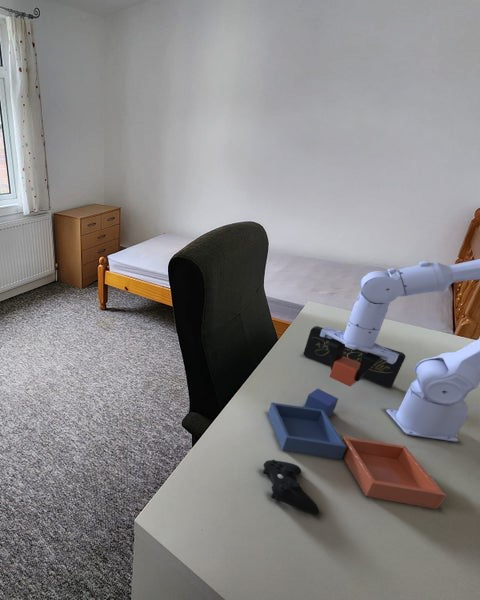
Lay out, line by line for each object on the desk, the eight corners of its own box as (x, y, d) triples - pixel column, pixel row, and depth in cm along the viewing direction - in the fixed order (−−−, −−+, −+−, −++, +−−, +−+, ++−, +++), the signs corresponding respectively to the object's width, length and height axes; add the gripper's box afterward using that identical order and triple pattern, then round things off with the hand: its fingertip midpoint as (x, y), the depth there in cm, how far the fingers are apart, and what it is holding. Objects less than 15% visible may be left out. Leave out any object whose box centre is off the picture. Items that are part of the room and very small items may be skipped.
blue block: (332, 413, 80) (338, 398, 79) (323, 421, 78) (329, 405, 76) (312, 402, 84) (317, 388, 82) (303, 409, 82) (308, 394, 80)
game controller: (325, 513, 57) (293, 491, 56) (300, 526, 59) (269, 505, 59) (302, 466, 66) (275, 446, 65) (281, 478, 68) (254, 459, 67)
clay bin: (398, 458, 69) (405, 445, 67) (437, 509, 59) (446, 495, 58) (338, 449, 71) (343, 436, 69) (365, 496, 61) (372, 482, 60)
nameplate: (302, 355, 103) (311, 327, 99) (304, 353, 105) (313, 325, 101) (390, 388, 89) (405, 356, 85) (392, 385, 90) (406, 354, 86)
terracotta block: (358, 380, 82) (365, 365, 80) (350, 386, 79) (356, 370, 78) (337, 371, 85) (343, 356, 83) (329, 377, 83) (334, 361, 81)
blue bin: (319, 421, 78) (323, 409, 77) (341, 459, 68) (346, 447, 67) (267, 414, 80) (271, 402, 79) (282, 450, 71) (286, 437, 69)
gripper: (320, 316, 80) (305, 364, 85) (397, 342, 69) (374, 396, 74) (335, 309, 83) (319, 356, 89) (410, 333, 72) (387, 385, 78)
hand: (345, 373), depth 82 cm, fingers closed on terracotta block, 4 cm apart
